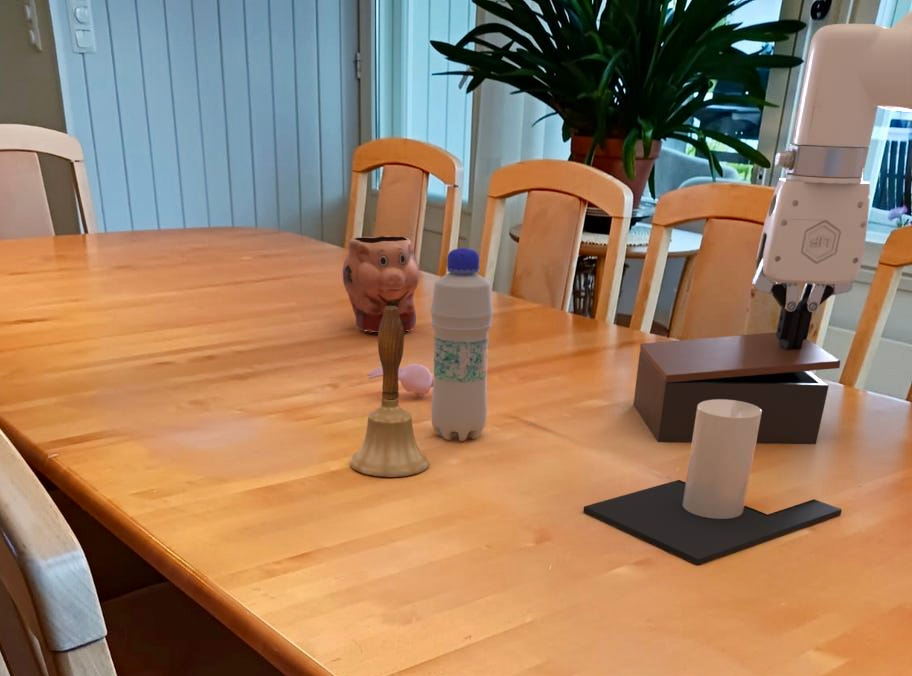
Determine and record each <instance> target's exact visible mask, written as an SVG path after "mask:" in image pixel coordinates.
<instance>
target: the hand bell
mask: <svg viewBox="0 0 912 676" xmlns="http://www.w3.org/2000/svg"><path fill="white" fill-rule="evenodd" d="M404 333H405V332H403V327H402V323H401V320H400V317H399V312H398V307H396V306H386V307H385V310H384V314H383V317H382V321H381V323H380V327H379V332H378V333H377V350H378V356H379V360H380V364H381V367H382V369H383V376H382V386H381V387H382V389H381V390H382V392H381V404H380V406H379V407H377V408H375V409H373V410H371V411H370V412H369V413H368V416H367V424H366V429H365V435H364V439H363V441H362V443H361V446H360V447H359V449H358V450H357V451H356V452H355V453H354V454H353V455H352V456H351V458H350V461H349V464H350V466H351V468H352V469H353V470H354V471H356V472H359V473H361V474H365V475H368V476H374V477H381V478H400V477H408V476H413V475H417V474H421V473H422V472H424V471H426V470H427V469H428V468H429V466H430V462H429V459H428V457H427V456H426V454H425V453H424V452H422V451H421V449H420V447H419V445H418V443H417V441H416V438H415V433H414V428H413V427H414V426H413V420H412V419H413V418H412V414H411V413H410V412H409V411H407V410H405V409H404V408H401V407H400V405H399V396H400V393H399V380H398V370H399V368H400V365H401V363H402V358H403V355H404V348H405V334H404Z"/></svg>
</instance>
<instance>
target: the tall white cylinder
mask: <svg viewBox="0 0 912 676" xmlns="http://www.w3.org/2000/svg"><path fill="white" fill-rule="evenodd" d="M761 415H762V410H761V409H760V408H759V407H757V406H755V405H753V404H750V403H746V402H742V401H735V400H723V399H717V400H707V401H703V402H700V403H699V404H698V405H697V411H696V417H695V424H694V430H693V437H692V443H690V449H689V450H690V451H689V458H688V465H687V471H686V476H685V482H686V483H685V490H684V496H683V503H682V505H683V507H684V509H685V510H687V511H688V512H690V513H692V514H695V515H698V516H701V517H706V518H713V519H729V518H735V517H738V516H740V515H741V514H742V513H743V511H744V506H746V499H747V495H748V489H749V484H750V479H751V473H752V468H753V463H754V457H755V452H756V447H757V444H756V442H757V436H758V431H759V426H760V420H761Z"/></svg>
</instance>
